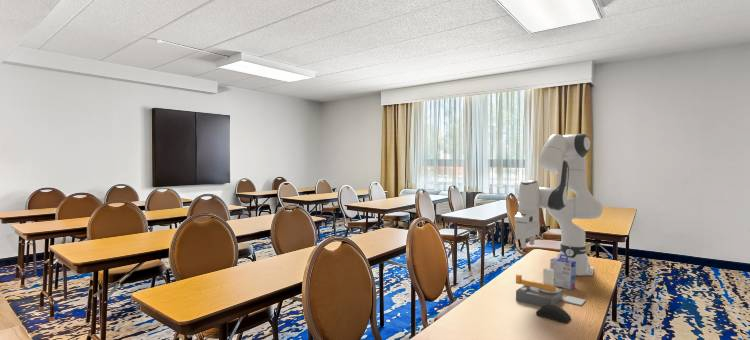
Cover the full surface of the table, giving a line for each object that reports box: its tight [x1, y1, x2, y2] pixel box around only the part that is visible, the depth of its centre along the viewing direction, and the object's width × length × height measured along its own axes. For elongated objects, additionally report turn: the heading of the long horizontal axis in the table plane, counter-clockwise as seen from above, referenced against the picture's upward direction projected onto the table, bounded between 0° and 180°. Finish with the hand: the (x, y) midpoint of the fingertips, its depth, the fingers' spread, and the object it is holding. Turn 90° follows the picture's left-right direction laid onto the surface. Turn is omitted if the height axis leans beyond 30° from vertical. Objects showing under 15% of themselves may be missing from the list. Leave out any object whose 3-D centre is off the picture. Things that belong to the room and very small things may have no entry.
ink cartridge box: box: [549, 254, 577, 290], centre depth 178 cm, size 10×6×14 cm, turn 41°
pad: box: [562, 295, 586, 307], centre depth 160 cm, size 7×7×1 cm
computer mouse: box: [536, 305, 572, 324], centre depth 144 cm, size 6×11×4 cm, turn 47°
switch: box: [515, 285, 564, 308], centre depth 162 cm, size 15×14×5 cm
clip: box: [515, 273, 557, 292], centre depth 161 cm, size 2×16×4 cm, turn 48°
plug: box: [538, 267, 558, 294], centre depth 161 cm, size 8×8×13 cm
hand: (527, 246), depth 173 cm, fingers open, 8 cm apart
